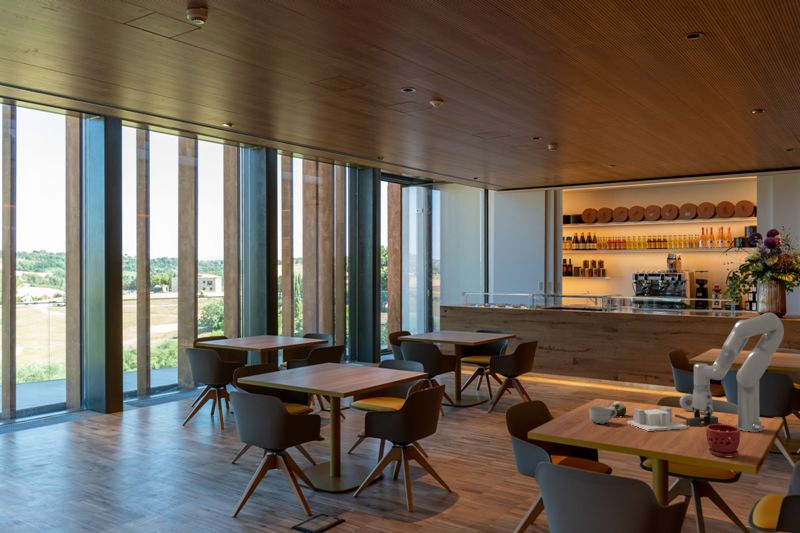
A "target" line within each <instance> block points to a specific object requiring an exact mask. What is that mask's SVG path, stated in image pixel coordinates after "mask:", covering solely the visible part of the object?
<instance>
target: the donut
mask: <svg viewBox="0 0 800 533" xmlns="http://www.w3.org/2000/svg"><path fill="white" fill-rule="evenodd" d="M687 401H691V403H692V402H693V393H685V394H683V395H682V396H680V398H679V405H680V407H681V408H682V409H683V410H685V411H687V412H693V409H692V407H691V404H687Z"/></svg>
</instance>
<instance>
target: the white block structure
mask: <svg viewBox="0 0 800 533" xmlns="http://www.w3.org/2000/svg"><path fill="white" fill-rule="evenodd" d="M672 413H673V409H672V407H669V406H660V409H659V408H654V409H653V408H652V409H642V408H638V407H637V408H633V420H626V424H627V423H628V424H627V425H629V424H631V425H630V426H632V425H634V426H637V427H639V428H642V429H645V430H647V431H654V430H667V431H672V430H671V429H680V430H687V427H688V425H685V424H682V423H679V422H676V421H674V420H673V419H672V418H673V416H672V415H673V414H672ZM634 426H633V427H634ZM637 427H636V428H637ZM639 428H638V429H639ZM642 429H641V430H642ZM645 430H644V431H645ZM647 431H646V432H647ZM654 432H655V431H654Z"/></svg>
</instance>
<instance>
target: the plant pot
mask: <svg viewBox="0 0 800 533" xmlns="http://www.w3.org/2000/svg"><path fill="white" fill-rule="evenodd" d="M705 427H706V428H705V430H706V431H705V433H706V441H707V443H708V446H709V448H708V452H709V453H710V454H711V453H712V454H711V455H713V454H714V455H713V456H715V455H719V456H735V457H737V456H738V455H739V450H738V448H739V446H740V442H741V438H740V436H741V430H740V429H739V428H737V427H735V425H731V424H725V423H723V424H722V423H718V424H712V425H707V426H705Z"/></svg>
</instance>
